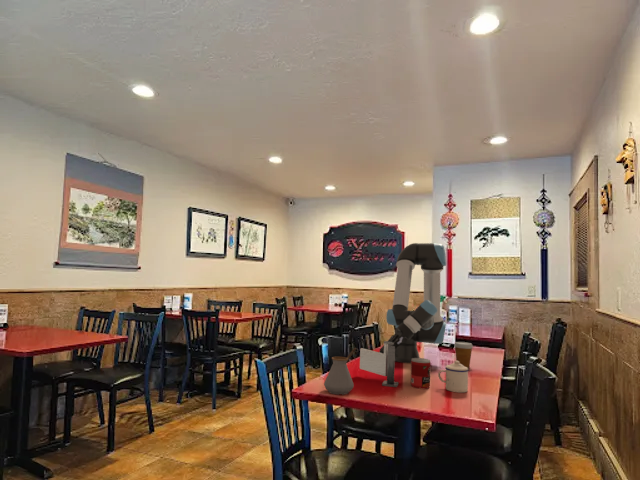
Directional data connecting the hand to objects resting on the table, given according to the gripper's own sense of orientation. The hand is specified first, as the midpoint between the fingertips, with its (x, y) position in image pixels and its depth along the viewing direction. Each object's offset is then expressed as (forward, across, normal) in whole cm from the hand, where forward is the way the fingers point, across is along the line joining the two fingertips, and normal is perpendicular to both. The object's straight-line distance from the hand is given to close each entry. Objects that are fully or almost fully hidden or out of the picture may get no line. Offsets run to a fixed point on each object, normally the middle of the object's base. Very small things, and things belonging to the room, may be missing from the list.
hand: (371, 364), depth 198 cm
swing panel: (+1, -5, -2) cm, 6 cm away
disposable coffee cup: (-34, +31, -43) cm, 63 cm away
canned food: (-9, -15, -17) cm, 24 cm away
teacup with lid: (-17, -19, -26) cm, 36 cm away
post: (0, -14, -8) cm, 16 cm away
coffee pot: (+15, -23, +6) cm, 28 cm away
